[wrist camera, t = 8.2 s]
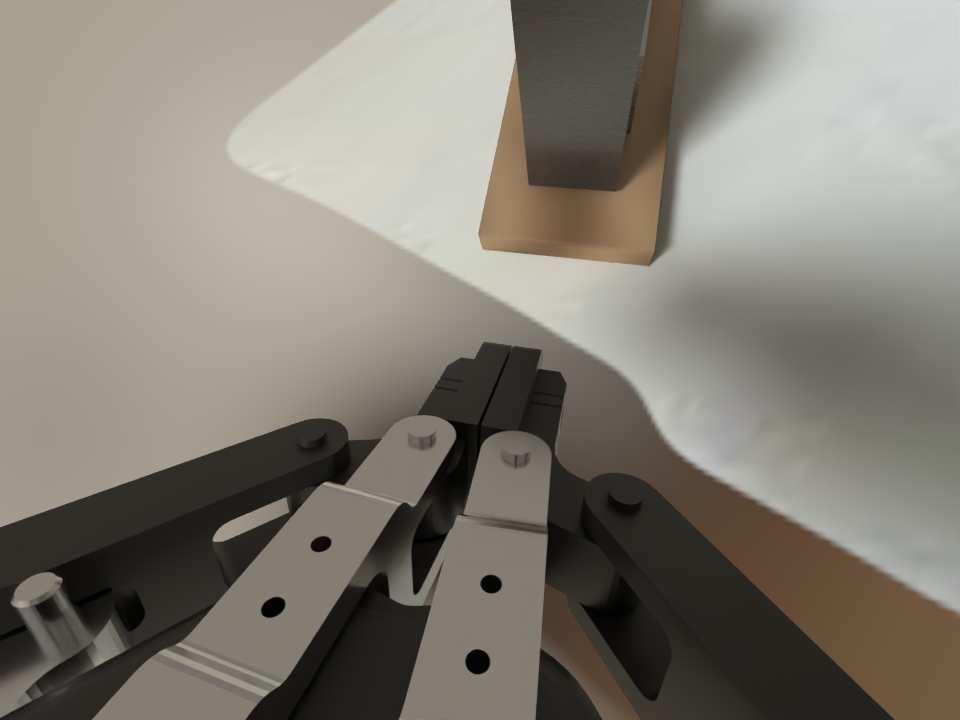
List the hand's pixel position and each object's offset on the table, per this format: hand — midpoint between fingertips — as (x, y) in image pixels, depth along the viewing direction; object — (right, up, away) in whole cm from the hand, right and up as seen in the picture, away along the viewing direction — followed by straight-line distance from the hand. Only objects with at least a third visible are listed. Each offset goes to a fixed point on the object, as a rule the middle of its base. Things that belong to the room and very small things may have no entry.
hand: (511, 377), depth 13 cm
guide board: (+5, +15, +14) cm, 21 cm away
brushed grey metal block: (+5, +16, +12) cm, 21 cm away
